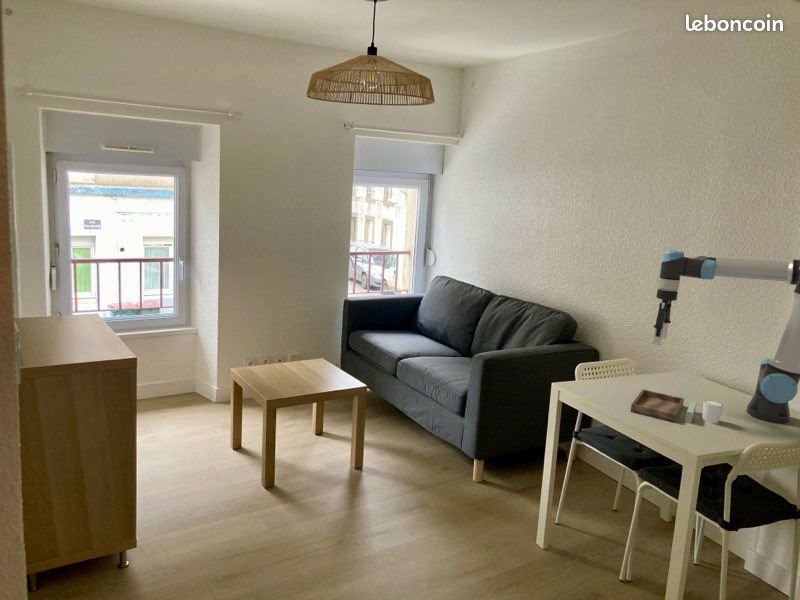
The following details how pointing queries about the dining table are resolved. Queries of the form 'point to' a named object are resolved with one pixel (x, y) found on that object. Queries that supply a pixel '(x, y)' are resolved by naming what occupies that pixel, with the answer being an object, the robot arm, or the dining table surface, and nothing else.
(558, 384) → the dining table surface
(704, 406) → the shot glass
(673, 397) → the tray
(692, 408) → the rail
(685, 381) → the dining table surface
